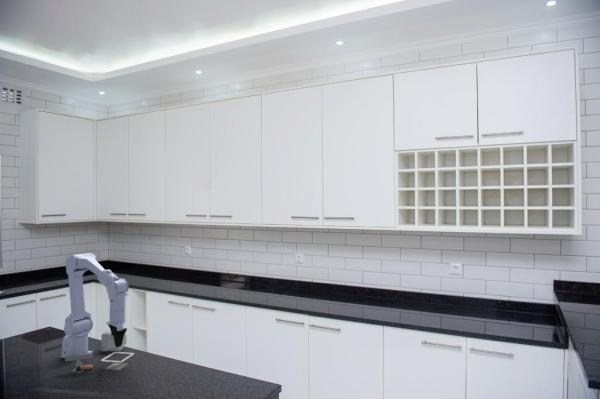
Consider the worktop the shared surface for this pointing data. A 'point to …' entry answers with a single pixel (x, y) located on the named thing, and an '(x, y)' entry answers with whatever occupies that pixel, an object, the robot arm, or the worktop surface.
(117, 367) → the lock plate
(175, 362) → the worktop surface
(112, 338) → the cover
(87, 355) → the tee key
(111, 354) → the tray
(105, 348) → the medicine box
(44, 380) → the worktop surface
